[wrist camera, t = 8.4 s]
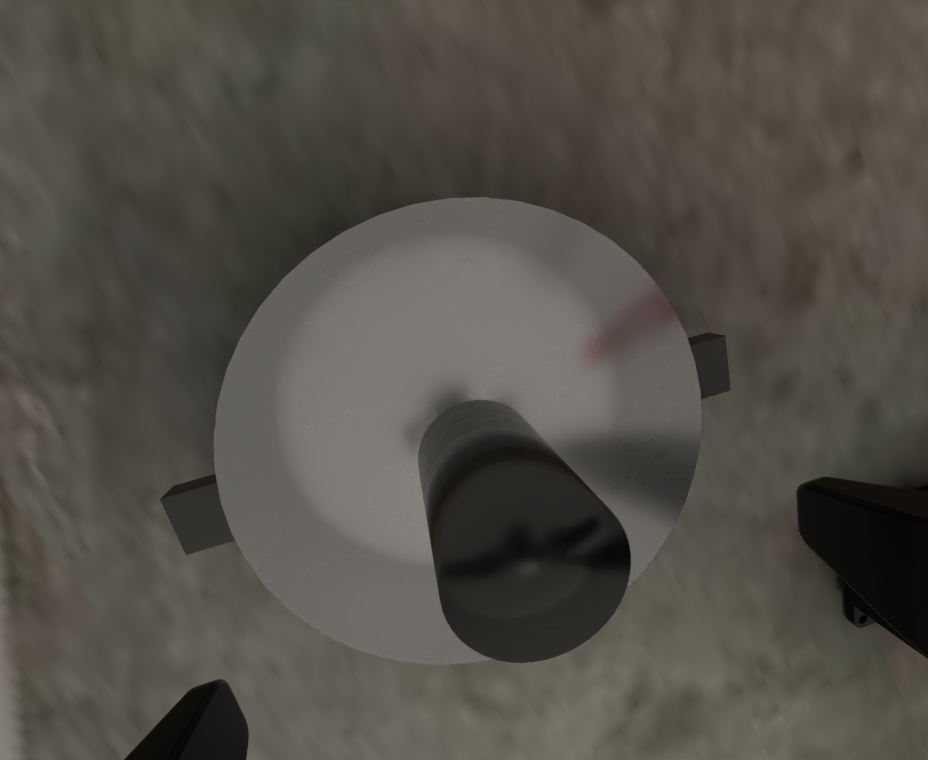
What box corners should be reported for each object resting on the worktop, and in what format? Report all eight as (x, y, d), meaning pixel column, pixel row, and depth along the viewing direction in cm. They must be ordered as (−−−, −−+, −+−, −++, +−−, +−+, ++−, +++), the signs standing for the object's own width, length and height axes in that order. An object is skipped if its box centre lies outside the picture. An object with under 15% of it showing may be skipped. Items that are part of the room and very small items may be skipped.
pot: (631, 187, 17) (729, 153, 12) (670, 475, 20) (761, 540, 15) (157, 304, 15) (50, 319, 10) (280, 599, 18) (243, 716, 13)
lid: (658, 147, 12) (888, 42, 6) (709, 570, 15) (888, 735, 10) (134, 274, 10) (-135, 277, 5) (317, 705, 14) (273, 982, 8)
